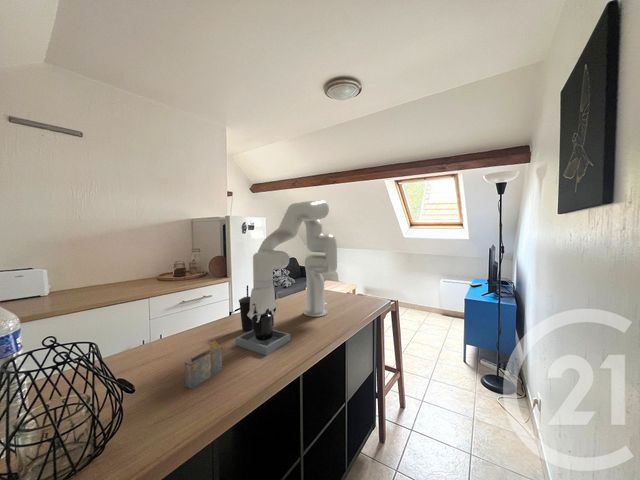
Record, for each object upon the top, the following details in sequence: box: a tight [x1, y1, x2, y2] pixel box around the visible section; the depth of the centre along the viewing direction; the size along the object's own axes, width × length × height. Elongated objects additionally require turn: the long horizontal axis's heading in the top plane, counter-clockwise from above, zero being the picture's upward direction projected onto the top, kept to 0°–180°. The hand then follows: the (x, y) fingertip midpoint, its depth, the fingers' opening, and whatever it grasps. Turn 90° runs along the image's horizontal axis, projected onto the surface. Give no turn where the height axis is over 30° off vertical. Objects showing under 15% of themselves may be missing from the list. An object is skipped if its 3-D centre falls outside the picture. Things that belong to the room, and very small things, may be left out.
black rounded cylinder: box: [238, 285, 254, 333], centre depth 117 cm, size 8×8×20 cm
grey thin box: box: [184, 339, 223, 390], centre depth 79 cm, size 11×3×10 cm, turn 154°
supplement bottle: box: [255, 308, 274, 341], centre depth 103 cm, size 7×7×12 cm
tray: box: [235, 329, 292, 357], centre depth 103 cm, size 14×16×3 cm
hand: (263, 328), depth 103 cm, fingers closed on supplement bottle, 6 cm apart
